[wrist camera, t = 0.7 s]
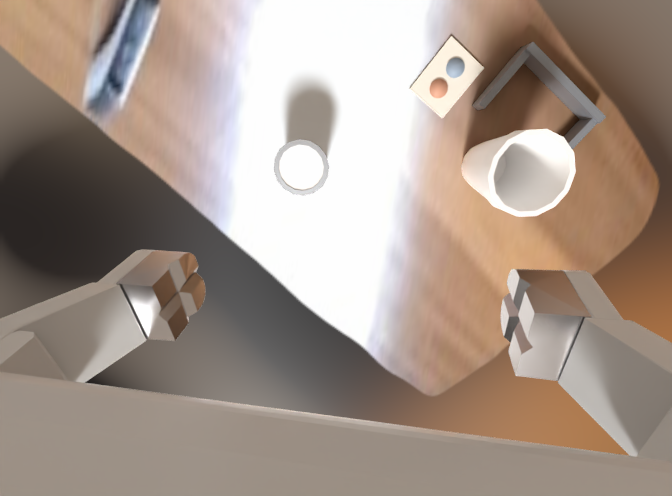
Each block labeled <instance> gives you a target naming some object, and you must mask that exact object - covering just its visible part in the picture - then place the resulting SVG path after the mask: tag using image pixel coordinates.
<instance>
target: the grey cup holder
mask: <svg viewBox="0 0 672 496" xmlns="http://www.w3.org/2000/svg"><path fill="white" fill-rule="evenodd" d="M523 63H524V64H525V65H526V66H527V67H528V68H529V69H530V70H531V71H532V72H533V73H534V74H535V75H536V76H537V77H538V78H539V79H540V80H541V81H542V82H543V83H544V84H545V85H546V86H547V87H548V88H549V89H550V90H551V91H552V92H553V93H554V94H555V95H556V96H557V97H558V98H559V99H560V100H561V101H562V102H563V103H564V104H565V105H566V106H567V107H568V108H569V109H570V110H571V111H572V112H573V113H574V114H575V115H576V116H577V117H578V118H579V119H580V120H579V121H578V122H577V123H576V124H575V125H574V126H573V127H572V128H571V129H570V130H569V131H568V132H567V133H566V135H565V136H564V138H565V140H566V141H567V143H568V144H569V146H570V147H571V149H573V148H574V147H575V146H576V145H577V144H578V143H579V142H580V141H581V140H582V139H583V138H584V137H585V136H586V135H587V134H588V133H589V131H590V130H591V129H592V128H593V127H594V126H595V125H596V124H597V123H601V122H602V120H603V119H604V118H605V117H606V116H605V115H604V114H603V113H602V112H601V111H600V110H599V109H598V108H597V107H596V106H595V105H594V104H593V103H592V102H591V101H590V100H589V99H588V98H587V97H586V96H585V95H584V94H583V93H582V92H581V91H580V90H579V88H578V87H577V86H576V85H575V84H574V83H573V82H572V81H571V80H570V79H569V78H568V77H567V76H566V75H565V74H564V73H563V72H562V71H561V70H560V69H559V68H558V67H557V66H556V65H555V64H554V63H553V62H552V61H551V60H550V59H549V58H548V57H547V55H546V54H545V53H544V52H543V51H542V50H541V49H540V48H539V47H538V46H537V45H536V44H535V43H534V42H531V43H529V44H527V45H525V46H523V47H521V48H520V49H519V50H518V51H517V52H516V54H515V55H514V56H513V57H512V58H511V60H510V61H509V62H508V63H507V64H506V65H505V67H504V68H503V69H502V70H501V71H500V73H499V74H498V75H497V76H496V77H495V79H494V80H493V81H492V82H491V83H490V84H489V86H488V87H487V88H486V89H485V90H484V92H483V93H482V94H481V95H480V96H479V98H478V99H477V100H476V101H475V102H474V104H473V105H472V106H473V107H474V108H475V109H476V110H481V109H485V108H486V106H487V105H488V104H489V103H490V102H491V101H492V99H493V98H494V97H495V96H496V95H497V94H498V92H499V91H500V90H501V89H502V88H503V87H504V85H505V84H506V83H507V82H508V81H509V80H510V78H511V77H512V76H513V75H514V74H515V72H516V71H517V70H518V69H519V68H520V67H521V65H522V64H523Z"/></svg>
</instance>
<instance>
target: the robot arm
mask: <svg viewBox="0 0 672 496" xmlns="http://www.w3.org/2000/svg"><path fill="white" fill-rule="evenodd" d="M197 268H198V263H197V261H196V258H195V256H194V255H193V254H191V253H188V252H174V251H160V250H159V251H156V250H138V251H135V252H134V253H133V254H132V255H131V256H129V257H128V258H127V259H126V260H124V261H123V262H122V263H121V264H119V265H118V266H117V267H116V268H115V269H113V270H112V271H111V272H110V273H108V274H107V275H106V276H105V277H103V278H102V279H101V280H100V281H98V282H97V283H90V284H87V285H84V286H82V287H80V288H77V289H75V290H72V291H69V292H67V293H64V294H62V295H59V296H57V297H54V298H52V299H49V300H46V301H44V302H41V303H39V304H36V305H34V306H31V307H29V308H26V309H24V310H21V311H19V312H16V313H14V314H11V315H9V316H6V317H3V318H1V319H0V496H672V343H671V342H669V341H667V340H665V339H664V338H662V337H660V336H658V335H656V334H655V333H653V332H651V331H649V330H648V329H645V328H644V327H642V326H641V325H639V324H637V323H635V322H633V321H628V320H623V319H622V317H621V316H620V314H619V313H618V312H617V310H616V309H615V308H614V306H613V305H612V303H611V302H610V301H609V299H608V298H607V296H606V295H605V294H604V292H603V291H602V289H601V288H600V287H599V286H598V284H597V283H596V281H595V280H594V279H593V277H592V276H591V274H590V273H588V272H586V271H579V270H560V271H558V270H529V269H512V270H511V272H510V274H509V277H508V281H507V285H508V288H509V291H510V293H509V294H508V295H507V296H505V297H504V298H503V302H502V307H501V326H502V331H503V335H504V337H505V338H506V339H507V340H508V341H509V342H511V344H510V347H509V356H510V359H511V362H512V365H513V369H514V371H515V375H516V376H523V377H531V378H539V379H547V380H556V381H558V383H559V384H560V385H561V386H562V387H563V388H564V389H565V390H566V391H567V392H568V393H569V394H570V395H571V396H572V397H573V399H574V400H575V401H577V402H578V404H580V406H581V407H582V408H583V409H584V410H586V412H587V413H588V414H589V415H590V416H591V417H592V418H593V419H594V420H595V421H596V422H597V423H598V424H599V425H600V426H601V427H602V428H603V429H604V430H605V431H606V432H607V433H608V434H609V435H610V436H611V437H612V438H613V439H614V440H615V441H616V442H617V443H618V444H619V445H620V446H621V447H622V448H623V449H624V450H625V451H626V452H627V453H628V454H629V455H630V456H627V455H620V454H612V453H605V452H597V451H589V450H582V449H575V448H567V447H560V446H552V445H545V444H537V443H530V442H523V441H515V440H507V439H500V438H493V437H485V436H478V435H471V434H463V433H456V432H448V431H440V430H433V429H425V428H418V427H411V426H403V425H395V424H388V423H380V422H373V421H365V420H358V419H351V418H343V417H335V416H329V415H321V414H314V413H306V412H299V411H291V410H284V409H276V408H268V407H261V406H253V405H246V404H239V403H231V402H223V401H216V400H208V399H201V398H194V397H186V396H179V395H172V394H164V393H156V392H149V391H141V390H134V389H126V388H119V387H112V386H104V385H96V384H89V383H85V382H86V381H87V380H89V379H90V378H92V377H93V376H95V375H96V374H98V373H99V372H101V371H102V370H104V369H105V368H107V367H108V366H110V365H111V364H112V363H114V362H115V361H117V360H118V359H120V358H121V357H123V356H124V355H126V354H127V353H129V352H130V351H131V350H133V349H134V348H136V347H138V346H139V345H140V344H142V343H143V342H145V341H146V339H155V340H169V341H176V339H177V338H178V337H179V336H180V334H181V333H182V331H183V330H184V329H185V328H186V326H187V325H188V324H189V320H188V317H189V316H190V315H192V314H194V313H196V312H197V311H198V310H199V309H200V307H201V306H202V304H203V301H204V298H205V285H204V281H203V279H202V278H201V277H200V276H199V275H198V274H197V273H196V270H197Z"/></svg>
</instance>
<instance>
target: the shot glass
mask: <svg viewBox="0 0 672 496" xmlns="http://www.w3.org/2000/svg"><path fill="white" fill-rule="evenodd" d="M328 169H329V165H328V161H327V157H326V155H325V153H324V152H323V151H322V149H321V148H320V147H319V146H318V145H316V144H314V143H313V142H311V141H308V140H301V139H298V140H294V141H291V142H288V143H287V144H285V145H284V146H283V147H282V148H281V149H280V150H279V152H278V154H277V156H276V158H275V163H274V171H275V175H276V178H277V181H278V182H279V183H280V184H281V186H282V187H283V188H284V189H285V190H287V191H289V192H291V193H292V194H296V195H308V194H311V193H314V192H316V191H317V190H318V189H320V188H321V187H322V186H323V184H324V182H325V181H326V179H327V177H328Z"/></svg>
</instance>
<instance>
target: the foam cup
mask: <svg viewBox="0 0 672 496" xmlns="http://www.w3.org/2000/svg"><path fill="white" fill-rule="evenodd" d="M461 169H462V175H463V177H464V179H465V180H466V181H467V183H468V184H469V185H470V186H472V187H473V188H474V189H475V190H476V191H478V192H479V193H480V194H481V195H483V196H484V197H485V198H486V199H487V200H488V201H489V202H490V203H491V205H492V206H494V207H496V208H498V209H501V210H503V211H505V212H508V213H510V214H512V215H515V216H517V217H523V216H537V215H539V214H541V213H543V212H545V211H547V210H549V209H551V208H553V207H555V206H556V205H557V204H558V203H559V201H560V200H561V199H562V198H563V197H564V196H565V195H566V194H567V193H568V191H569V189H570V186H571V183H572V181H573V178H574V175H575V173H576V170H575V157H574V152H573V150H572V149H571V147H570V146H569V144H568V143H567V141H566V140H565V138H564V137H562V136H560V135H558V134H556V133H554V132H552V131H550V130H548V129H535V130H517V131H514V132H512V133H510V134H508V135H505V136H502V137H499V138H496V139H492V140H489V141H486V142H482V143H480V144H478V145H476V146H474V147H472V148H470V150H469V151H468V152H467V153H466V155H465V156H464V158H463V162H462V165H461Z"/></svg>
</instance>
